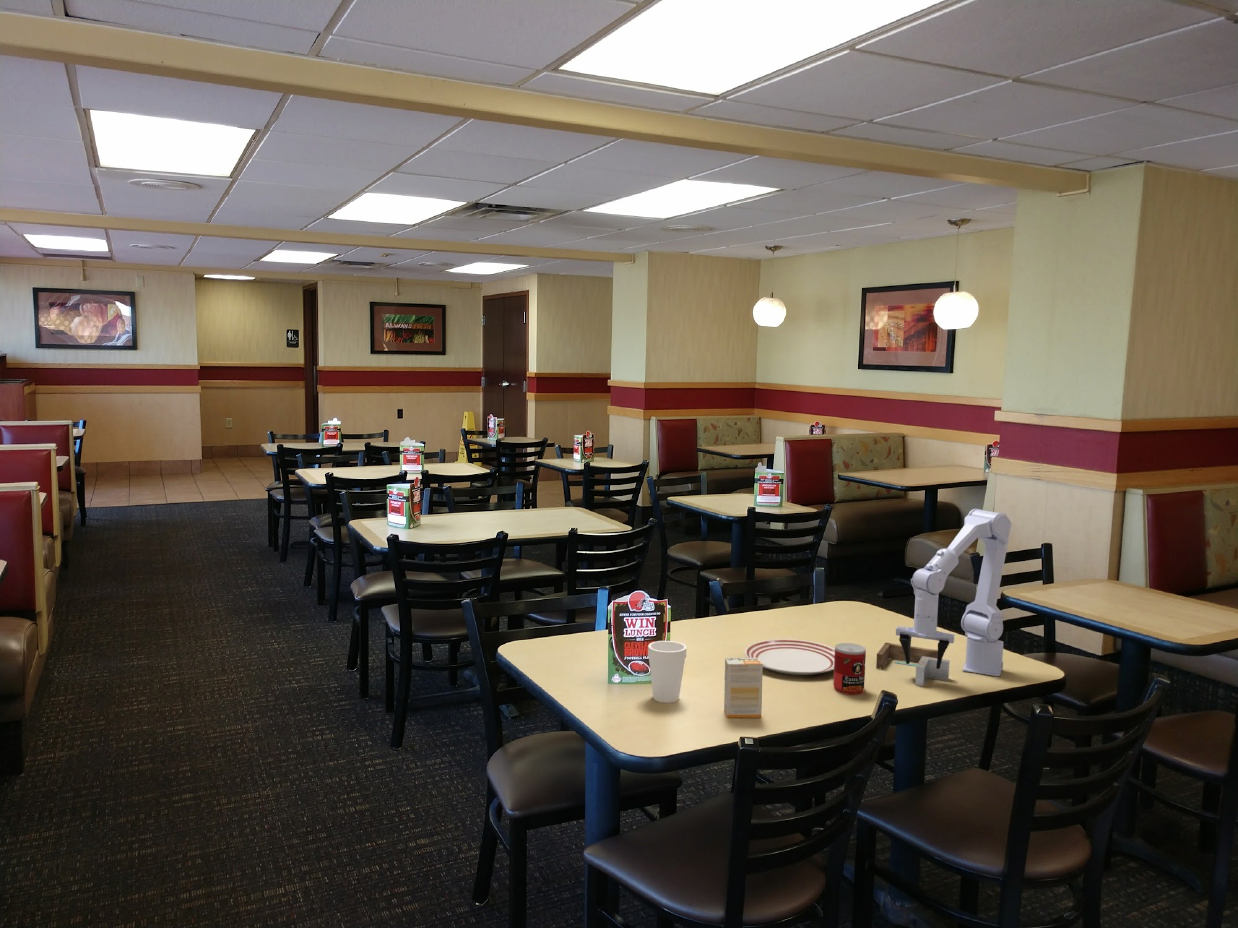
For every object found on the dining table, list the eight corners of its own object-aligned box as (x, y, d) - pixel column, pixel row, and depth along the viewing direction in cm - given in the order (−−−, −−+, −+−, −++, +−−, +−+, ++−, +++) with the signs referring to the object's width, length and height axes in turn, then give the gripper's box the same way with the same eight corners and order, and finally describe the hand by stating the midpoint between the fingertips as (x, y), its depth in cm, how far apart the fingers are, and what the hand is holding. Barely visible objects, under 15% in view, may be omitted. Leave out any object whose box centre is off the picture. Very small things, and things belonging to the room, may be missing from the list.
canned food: (843, 695, 223) (844, 652, 222) (827, 685, 231) (829, 643, 230) (870, 693, 225) (872, 650, 224) (853, 682, 233) (855, 641, 232)
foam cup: (693, 698, 219) (694, 646, 218) (667, 707, 213) (668, 654, 211) (664, 688, 226) (665, 638, 225) (639, 697, 219) (640, 645, 218)
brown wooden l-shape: (940, 664, 249) (941, 650, 249) (934, 677, 238) (935, 662, 238) (884, 656, 256) (885, 642, 256) (876, 667, 245) (876, 653, 245)
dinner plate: (856, 682, 234) (857, 669, 234) (752, 680, 234) (752, 668, 233) (831, 650, 261) (831, 639, 261) (737, 649, 261) (738, 638, 261)
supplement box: (757, 710, 212) (759, 656, 211) (761, 718, 207) (763, 663, 206) (723, 710, 212) (724, 656, 210) (726, 718, 207) (727, 663, 206)
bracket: (921, 674, 241) (922, 656, 240) (948, 678, 237) (949, 660, 237) (915, 685, 232) (916, 666, 231) (943, 689, 229) (944, 670, 228)
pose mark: (930, 666, 247) (930, 666, 247) (927, 673, 241) (927, 673, 241) (895, 661, 251) (895, 660, 251) (891, 667, 245) (891, 667, 245)
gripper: (894, 614, 234) (892, 664, 236) (953, 622, 228) (950, 674, 229) (899, 608, 241) (896, 657, 242) (956, 616, 234) (953, 666, 235)
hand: (923, 665), depth 236 cm, fingers open, 7 cm apart
